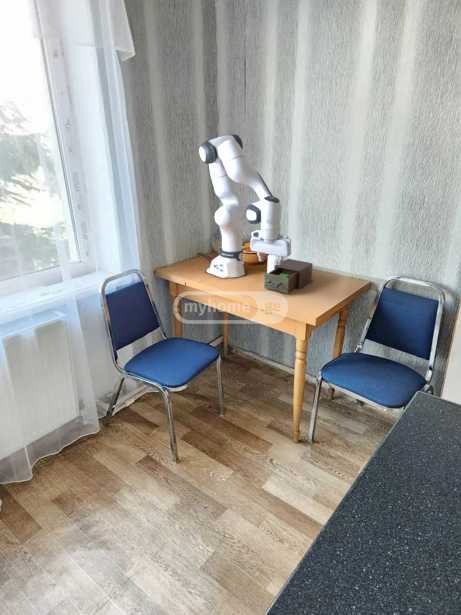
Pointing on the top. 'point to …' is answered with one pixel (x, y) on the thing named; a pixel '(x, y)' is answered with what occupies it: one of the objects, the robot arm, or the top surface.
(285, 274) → the green block
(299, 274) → the cabinet
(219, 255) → the robot arm
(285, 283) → the drawer
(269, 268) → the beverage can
